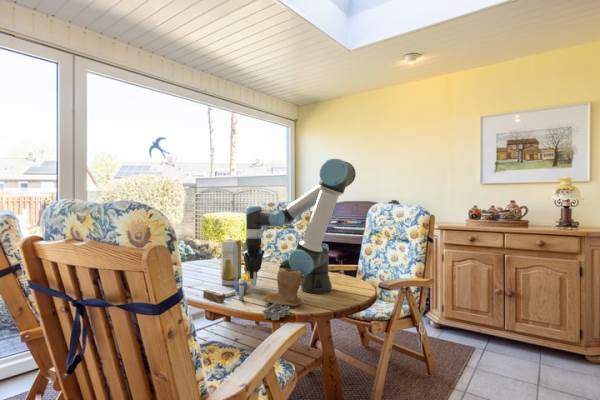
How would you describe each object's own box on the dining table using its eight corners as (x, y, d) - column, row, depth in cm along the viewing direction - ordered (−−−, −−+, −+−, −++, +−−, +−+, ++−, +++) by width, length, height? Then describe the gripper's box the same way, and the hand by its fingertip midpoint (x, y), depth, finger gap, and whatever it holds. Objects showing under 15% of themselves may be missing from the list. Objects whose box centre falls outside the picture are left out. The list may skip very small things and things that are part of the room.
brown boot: (306, 302, 144) (306, 267, 144) (295, 310, 133) (295, 272, 133) (275, 297, 150) (275, 264, 150) (262, 305, 139) (262, 269, 139)
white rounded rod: (244, 300, 145) (244, 279, 145) (241, 301, 144) (241, 280, 144) (241, 299, 147) (241, 278, 147) (237, 300, 145) (238, 279, 145)
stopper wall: (223, 301, 143) (223, 294, 143) (219, 302, 141) (219, 295, 141) (207, 296, 151) (207, 289, 151) (203, 297, 149) (203, 290, 149)
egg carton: (277, 310, 133) (277, 300, 133) (292, 314, 129) (292, 303, 129) (259, 318, 125) (260, 307, 125) (275, 322, 120) (275, 311, 120)
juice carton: (219, 285, 171) (219, 238, 171) (226, 281, 178) (226, 236, 178) (236, 286, 169) (236, 239, 169) (242, 282, 176) (243, 237, 176)
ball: (243, 288, 152) (242, 297, 154) (250, 281, 157) (249, 290, 159) (232, 282, 154) (231, 292, 156) (240, 275, 159) (239, 285, 161)
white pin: (236, 290, 154) (221, 295, 146) (235, 295, 154) (221, 299, 146) (233, 289, 155) (218, 293, 147) (232, 294, 155) (218, 298, 147)
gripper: (258, 235, 171) (257, 281, 171) (238, 237, 161) (238, 286, 161) (268, 236, 167) (268, 283, 167) (248, 239, 157) (248, 289, 157)
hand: (253, 285), depth 164 cm, fingers closed
